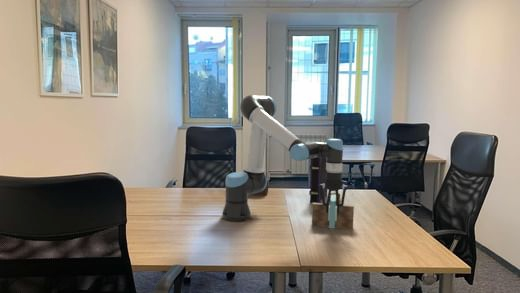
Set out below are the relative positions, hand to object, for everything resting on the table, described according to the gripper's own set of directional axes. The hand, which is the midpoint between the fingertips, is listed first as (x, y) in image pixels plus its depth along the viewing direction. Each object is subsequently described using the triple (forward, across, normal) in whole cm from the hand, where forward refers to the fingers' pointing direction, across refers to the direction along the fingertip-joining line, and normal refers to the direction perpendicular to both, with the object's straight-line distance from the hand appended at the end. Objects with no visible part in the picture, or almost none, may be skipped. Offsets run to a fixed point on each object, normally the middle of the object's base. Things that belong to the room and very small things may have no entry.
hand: (332, 219), depth 184 cm
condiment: (+5, 0, +26) cm, 27 cm away
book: (+5, -10, +61) cm, 62 cm away
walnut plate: (+5, 0, +6) cm, 8 cm away
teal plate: (+1, 0, 0) cm, 1 cm away
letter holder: (+5, -55, +65) cm, 85 cm away
